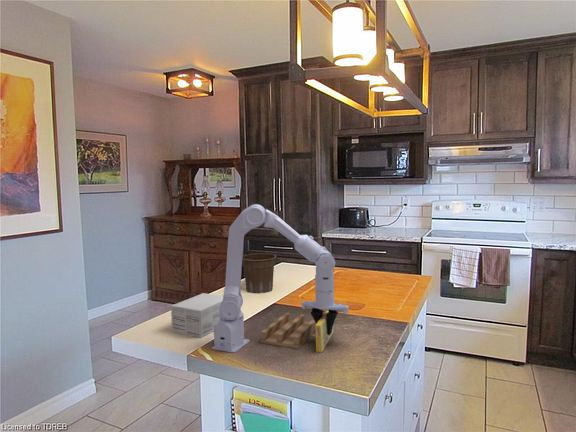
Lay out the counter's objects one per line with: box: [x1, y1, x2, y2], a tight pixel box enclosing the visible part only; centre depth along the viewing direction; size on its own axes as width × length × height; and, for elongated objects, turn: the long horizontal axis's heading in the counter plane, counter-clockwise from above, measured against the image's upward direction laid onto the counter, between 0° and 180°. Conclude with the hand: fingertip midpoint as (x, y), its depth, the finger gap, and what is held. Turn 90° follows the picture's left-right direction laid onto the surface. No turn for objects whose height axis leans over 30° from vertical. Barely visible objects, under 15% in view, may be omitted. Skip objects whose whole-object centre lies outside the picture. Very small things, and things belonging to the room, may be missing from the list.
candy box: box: [314, 310, 334, 353], centre depth 124 cm, size 16×2×8 cm, turn 161°
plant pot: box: [242, 253, 277, 294], centre depth 185 cm, size 16×16×16 cm
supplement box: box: [170, 292, 223, 339], centre depth 140 cm, size 17×13×9 cm
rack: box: [260, 312, 316, 349], centre depth 131 cm, size 20×12×4 cm, turn 157°
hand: (325, 333), depth 124 cm, fingers closed on candy box, 2 cm apart
